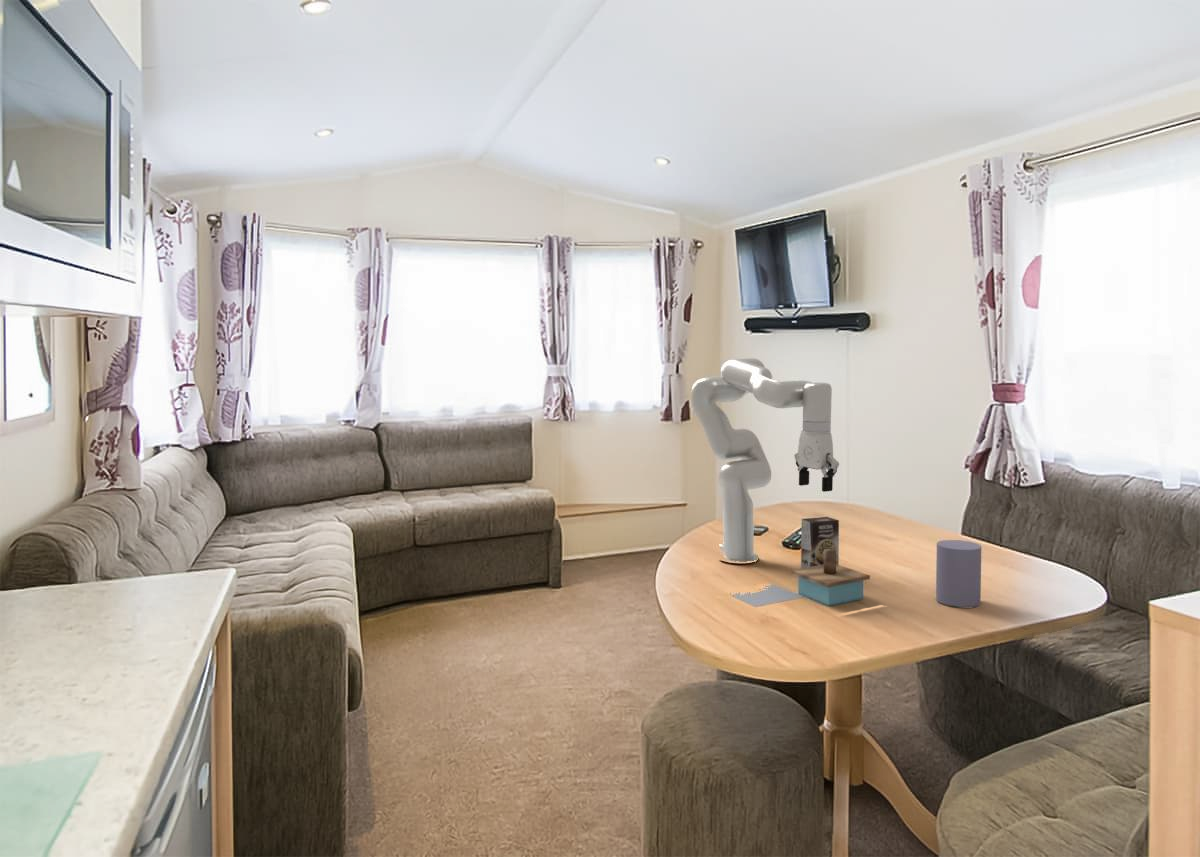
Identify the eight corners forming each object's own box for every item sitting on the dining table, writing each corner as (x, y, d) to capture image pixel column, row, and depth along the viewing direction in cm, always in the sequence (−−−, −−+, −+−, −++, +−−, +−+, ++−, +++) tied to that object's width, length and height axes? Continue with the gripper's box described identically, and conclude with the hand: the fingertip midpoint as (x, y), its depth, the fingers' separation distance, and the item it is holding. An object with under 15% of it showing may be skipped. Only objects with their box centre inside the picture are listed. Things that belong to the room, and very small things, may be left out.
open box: (798, 596, 202) (798, 574, 202) (832, 589, 207) (832, 568, 206) (828, 608, 192) (828, 585, 191) (863, 601, 196) (863, 578, 196)
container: (937, 593, 201) (938, 538, 200) (980, 598, 196) (981, 541, 195) (934, 605, 192) (935, 547, 190) (980, 610, 187) (981, 551, 186)
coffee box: (812, 577, 219) (811, 522, 217) (800, 571, 225) (800, 518, 224) (839, 574, 221) (839, 519, 220) (827, 568, 228) (827, 515, 226)
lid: (791, 573, 202) (791, 548, 202) (831, 566, 208) (831, 541, 207) (827, 587, 190) (827, 560, 189) (869, 579, 195) (869, 552, 195)
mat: (719, 592, 207) (719, 590, 207) (767, 583, 214) (767, 581, 214) (755, 609, 193) (755, 606, 193) (804, 599, 200) (804, 596, 199)
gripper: (785, 424, 215) (784, 484, 217) (827, 431, 200) (825, 494, 202) (807, 423, 218) (805, 481, 220) (849, 429, 203) (847, 492, 205)
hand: (815, 488), depth 211 cm, fingers open, 9 cm apart
